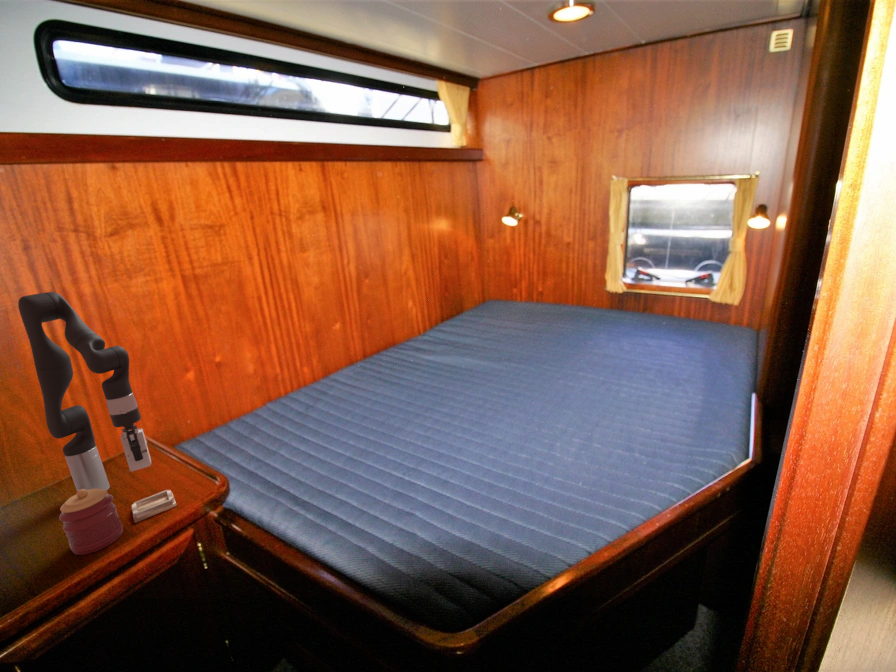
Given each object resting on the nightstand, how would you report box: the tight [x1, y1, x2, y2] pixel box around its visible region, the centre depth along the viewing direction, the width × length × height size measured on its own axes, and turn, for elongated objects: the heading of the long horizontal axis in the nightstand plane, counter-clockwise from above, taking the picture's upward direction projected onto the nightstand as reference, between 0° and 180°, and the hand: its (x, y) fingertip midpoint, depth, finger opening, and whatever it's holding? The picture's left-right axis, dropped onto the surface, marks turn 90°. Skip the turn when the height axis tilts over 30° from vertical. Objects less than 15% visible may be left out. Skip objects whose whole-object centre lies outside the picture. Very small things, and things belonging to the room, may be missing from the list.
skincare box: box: [120, 428, 152, 472], centre depth 148 cm, size 6×4×12 cm
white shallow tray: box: [131, 489, 178, 524], centre depth 153 cm, size 10×12×2 cm
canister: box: [58, 489, 124, 556], centre depth 136 cm, size 13×13×18 cm
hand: (138, 457), depth 148 cm, fingers closed on skincare box, 4 cm apart
